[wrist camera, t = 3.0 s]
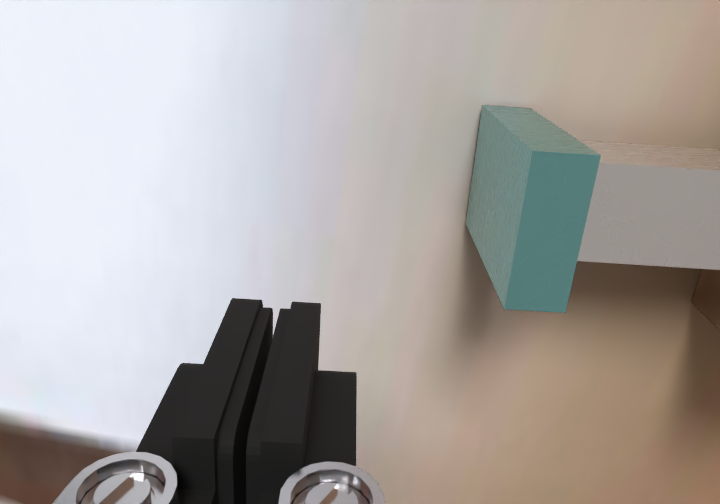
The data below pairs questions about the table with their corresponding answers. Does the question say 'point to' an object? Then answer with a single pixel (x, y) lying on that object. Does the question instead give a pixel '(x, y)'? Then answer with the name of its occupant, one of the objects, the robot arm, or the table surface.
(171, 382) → the robot arm
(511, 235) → the peg
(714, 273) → the block
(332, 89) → the table surface
